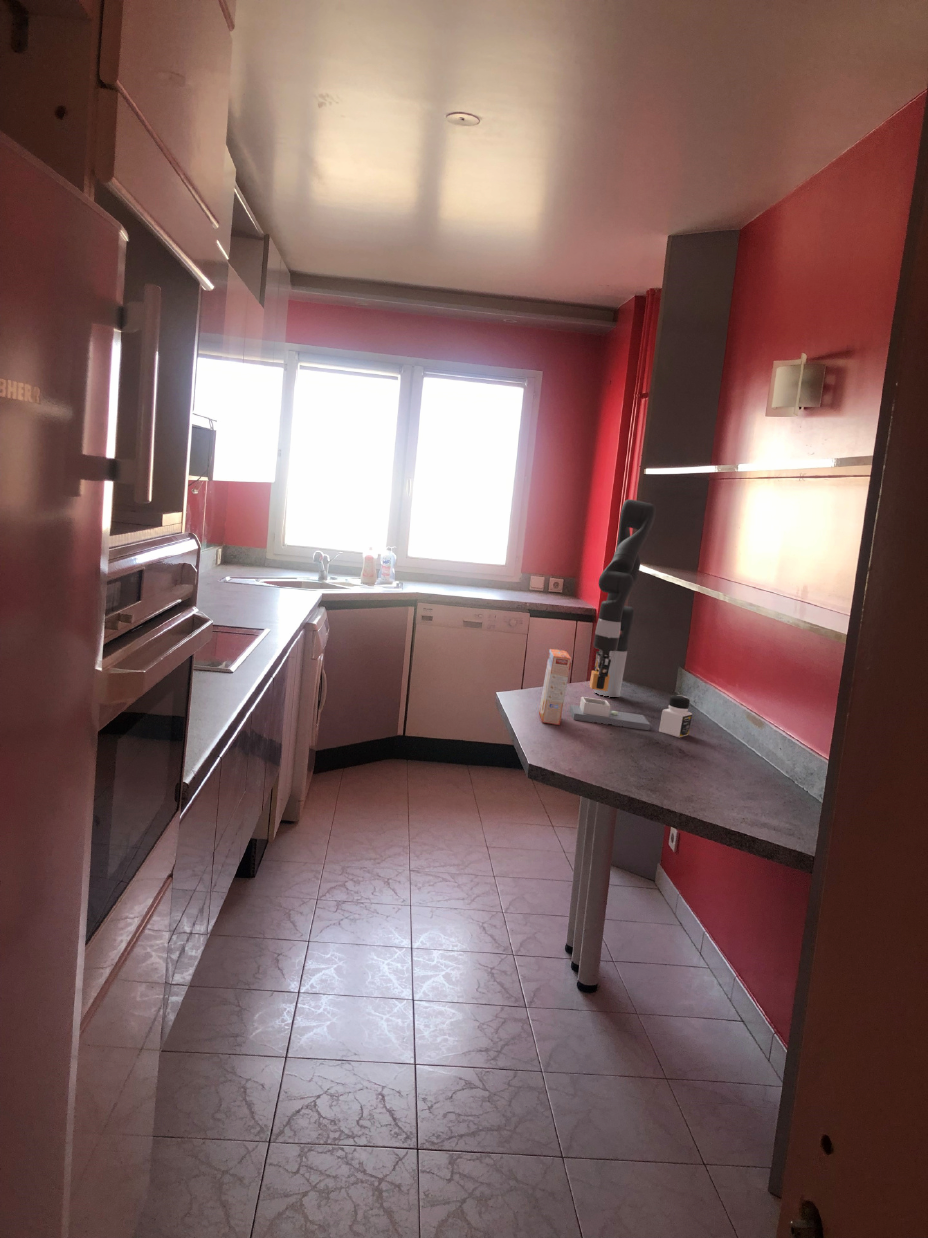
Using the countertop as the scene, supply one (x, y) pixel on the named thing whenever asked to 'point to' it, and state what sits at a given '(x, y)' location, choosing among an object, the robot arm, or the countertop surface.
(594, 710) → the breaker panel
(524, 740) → the countertop surface
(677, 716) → the medicine bottle
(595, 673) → the orange cube
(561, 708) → the cracker box
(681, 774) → the countertop surface
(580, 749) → the countertop surface
